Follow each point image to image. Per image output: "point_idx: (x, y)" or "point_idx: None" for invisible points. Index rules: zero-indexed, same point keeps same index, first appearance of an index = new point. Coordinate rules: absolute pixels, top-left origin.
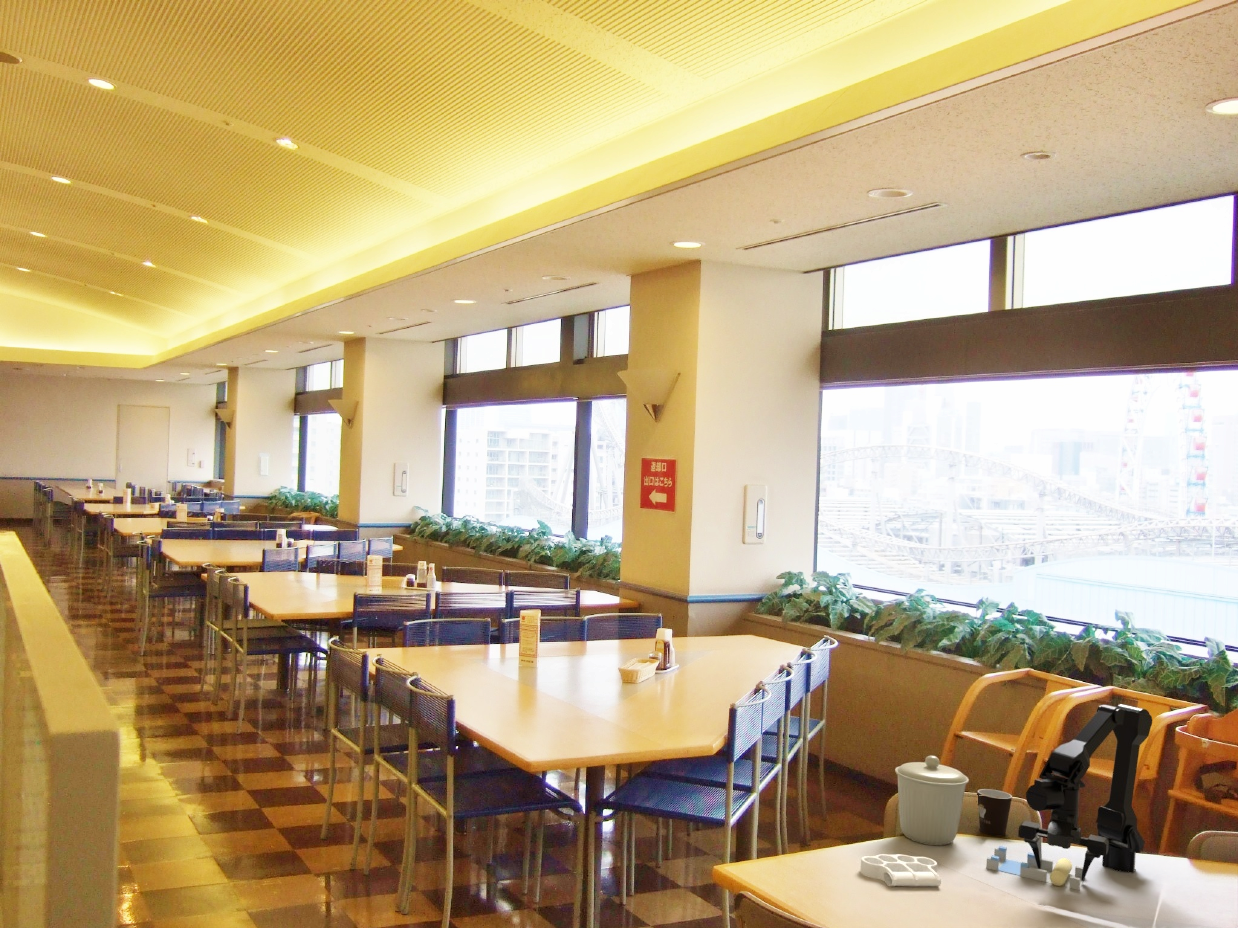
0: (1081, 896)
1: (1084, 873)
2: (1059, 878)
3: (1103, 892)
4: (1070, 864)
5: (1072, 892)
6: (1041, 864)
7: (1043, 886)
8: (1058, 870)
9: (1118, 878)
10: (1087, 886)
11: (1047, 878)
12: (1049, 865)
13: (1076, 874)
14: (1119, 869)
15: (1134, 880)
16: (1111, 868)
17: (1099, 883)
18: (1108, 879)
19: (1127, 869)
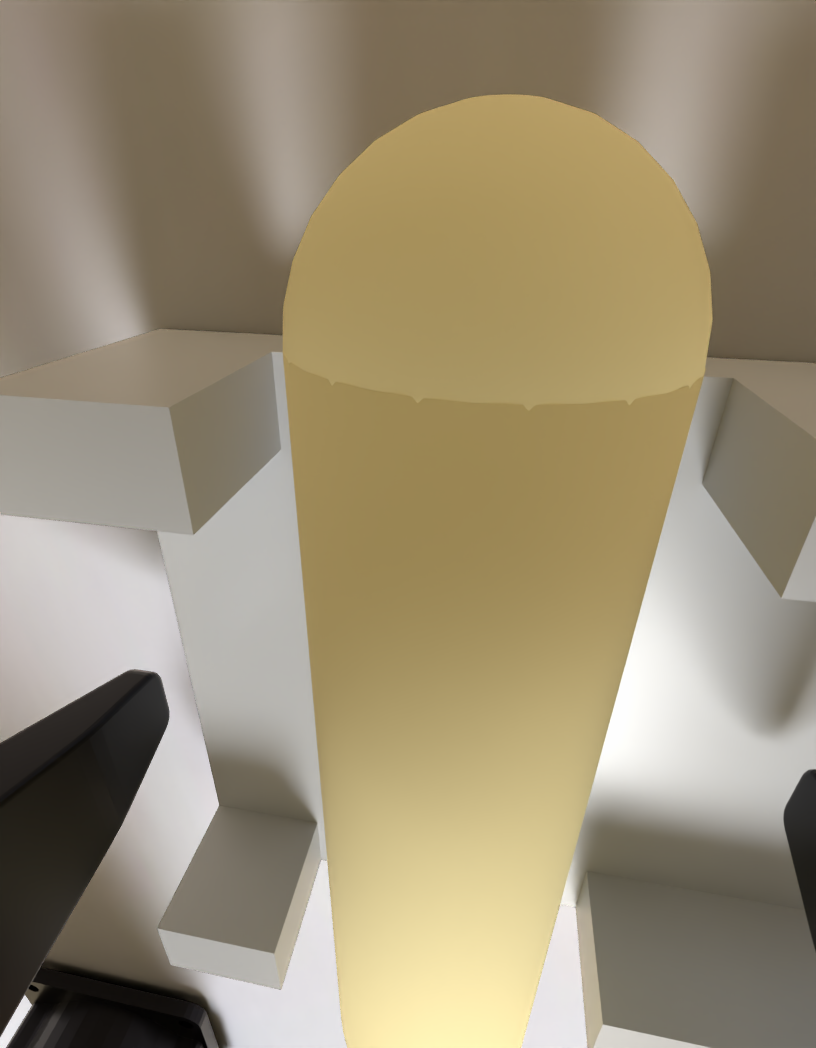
0: (95, 239)
1: (22, 745)
2: (406, 124)
3: (3, 607)
4: (342, 996)
5: None
6: (814, 913)
7: (745, 319)
8: (457, 487)
9: (90, 938)
10: (186, 693)
11: (668, 597)
12: (632, 952)
13: (291, 847)
14: (86, 1031)
15: None
16: (147, 1037)
17: (138, 811)
18: (127, 904)
19: (40, 1037)
